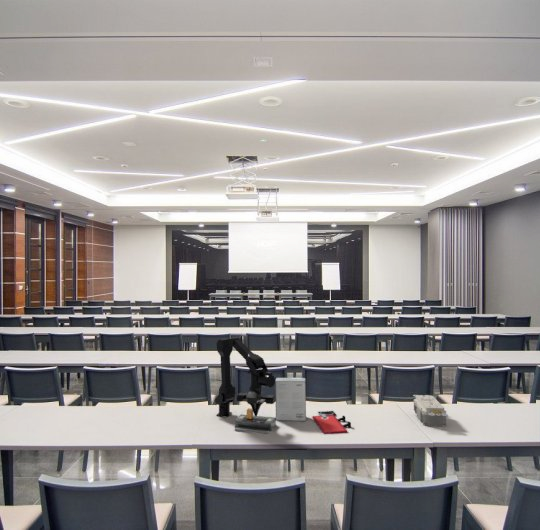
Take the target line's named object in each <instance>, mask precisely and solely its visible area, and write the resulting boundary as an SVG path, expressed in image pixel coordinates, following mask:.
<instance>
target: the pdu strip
mask: <svg viewBox="0 0 540 530" xmlns="http://www.w3.org/2000/svg"><path fill="white" fill-rule="evenodd" d="M276 425H277V420H276V417H272V416H260V415H257V416H255V415H253V418H252V419H248V418H247V414H240V415H238V417H237V418H235V419H234V428H235V427H243V428H253V429H263V430H268V432H272V431H273V429H274V428H275V427H276Z"/></svg>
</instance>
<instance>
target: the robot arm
mask: <svg viewBox="0 0 540 530" xmlns="http://www.w3.org/2000/svg"><path fill="white" fill-rule="evenodd" d="M233 348H234V349H235V350H236V352H237V353H238V355H240V356H241V357H242V358H243V359H244V361H245V364H246V366H247V367H248V369H249V370H248V371H247V372H246V373H247V374H249V377H250V379H249V380H250V381H249V385H250V386H249V390H248V392H239V393H238V394H237V393H236V387H235V386H234V385H233V384H232V375H231V374H232V373H231V371H232V370H231V354H232V353H233V350H234V349H233ZM216 350H217V353H218V354H219V356H220V375H221V376H220V377H221V385H220V387H219V388H218V394H217V396H216V397H215V398H214V403H215V404H216V405H218V412H217V414H216V416H217V417H227V418H228V417H229V416H231V415H232V414H233V412H232V411H231V407H230V406H231V403H233V402H234V400H236V402H241V403H242V402H243V401H245V400H246V402H247V405H250V407H251V408H252V409H253V416H258V414H259V411H260V408H261V406H262V405H263V404H264V403H265V404H267V405H273V404H275V403H276V394H267V395H266V396H263V387H267V388H270V389H271V388H272V387H274V385H275V381H276V378H275V376H273V373H272V372H271V371H270V372H269V369H268V367H267V365H266V362H265V360H264V358H263V357H261V356H260V355H259V354H256V353H254V352H252V350H250V348H249V347H247V345H246V344H245V343H244V342H242V340H241V339H240V337H237V336H236V337H231V338H229V337H228V338H220V339H218V340H217V341H216ZM236 394H237V395H236Z"/></svg>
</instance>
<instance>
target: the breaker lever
mask: <svg viewBox="0 0 540 530" xmlns="http://www.w3.org/2000/svg"><path fill="white" fill-rule="evenodd" d="M246 415H247V418H248V419H252V418H253V416H254V412H253V409H252V407H251V408H250V407H249V408H247V409H246Z"/></svg>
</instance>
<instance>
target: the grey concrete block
mask: <svg viewBox="0 0 540 530" xmlns="http://www.w3.org/2000/svg"><path fill="white" fill-rule="evenodd" d="M412 396H413V397H415V399H413V411H414V413H415V414H416V418H417V419H418V420H419V422H422V426H427V427H443V425H445V426H446V425H447V417H448V416H449V415H448V414H447V410H445V407H444V405H442V404H441V402H439V401H438V400H437V399H436V398H435V397H434V396H433V395H429V394H424V395H423V394H420V395H419V394H413V395H412Z"/></svg>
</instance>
